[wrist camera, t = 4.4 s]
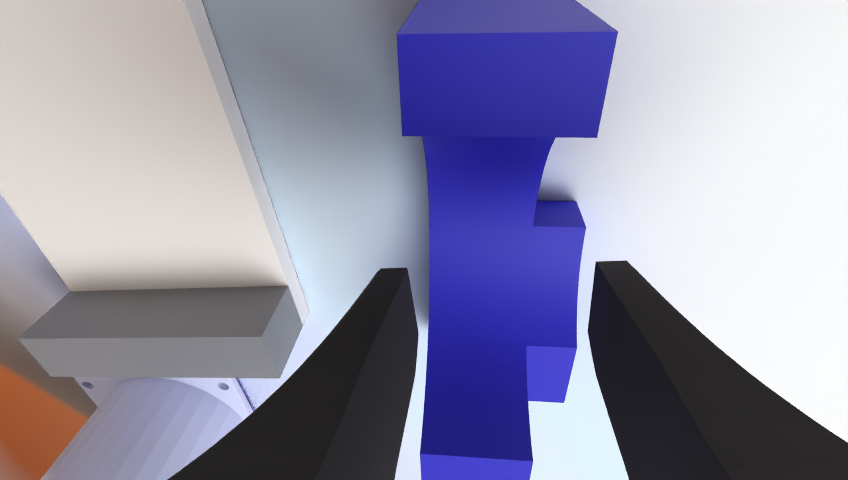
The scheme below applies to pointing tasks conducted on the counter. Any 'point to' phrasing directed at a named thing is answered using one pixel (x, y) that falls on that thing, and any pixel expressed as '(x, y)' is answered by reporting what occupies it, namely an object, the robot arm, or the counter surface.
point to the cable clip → (498, 215)
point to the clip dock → (141, 194)
